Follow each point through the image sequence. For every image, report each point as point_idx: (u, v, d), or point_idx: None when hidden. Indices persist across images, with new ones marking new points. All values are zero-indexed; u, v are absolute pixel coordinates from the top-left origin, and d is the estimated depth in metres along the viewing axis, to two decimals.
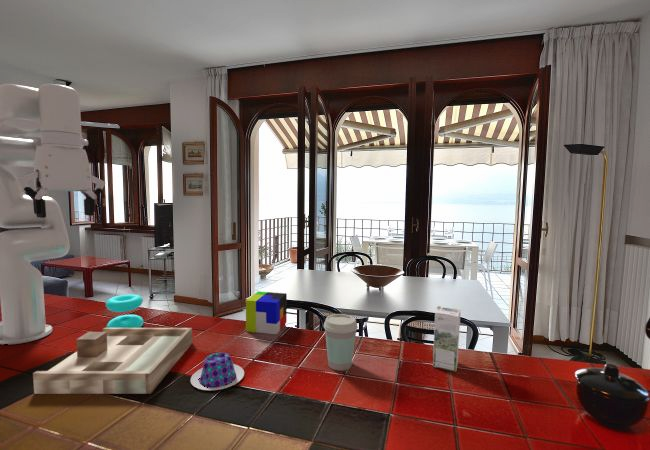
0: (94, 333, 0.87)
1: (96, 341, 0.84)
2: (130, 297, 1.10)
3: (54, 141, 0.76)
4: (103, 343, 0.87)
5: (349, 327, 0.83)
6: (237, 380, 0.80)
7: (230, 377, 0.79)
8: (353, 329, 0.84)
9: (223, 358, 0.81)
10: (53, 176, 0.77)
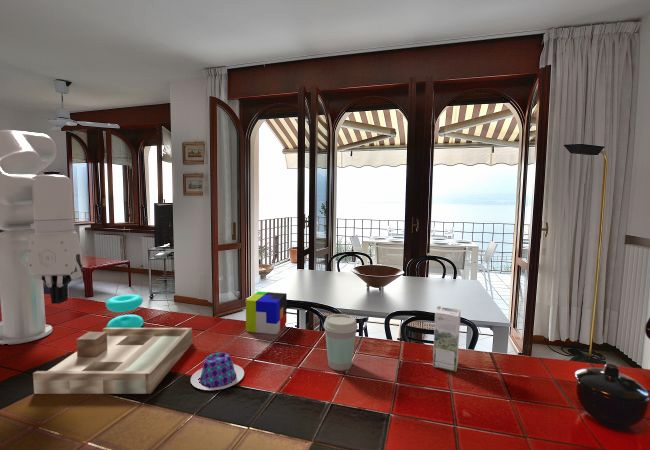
0: (94, 333, 0.87)
1: (96, 341, 0.84)
2: (130, 297, 1.10)
3: None
4: (103, 343, 0.87)
5: (349, 327, 0.83)
6: (237, 380, 0.79)
7: (230, 377, 0.79)
8: (353, 329, 0.84)
9: (223, 358, 0.81)
10: None
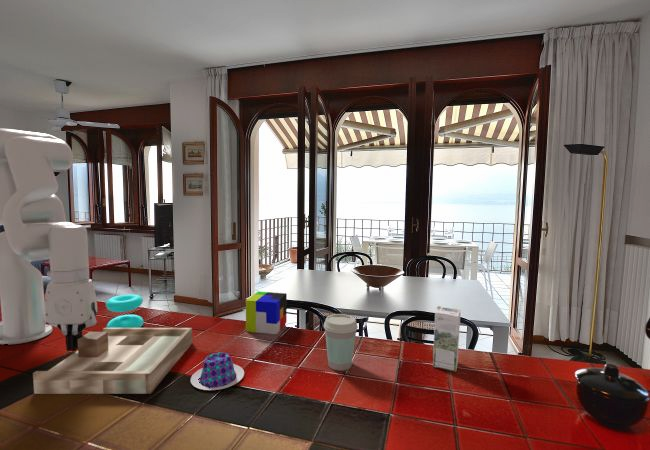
0: (95, 333, 0.87)
1: (98, 341, 0.84)
2: (130, 297, 1.10)
3: None
4: (104, 343, 0.87)
5: (349, 327, 0.83)
6: (236, 381, 0.79)
7: (229, 378, 0.79)
8: (353, 329, 0.84)
9: (223, 358, 0.81)
10: None
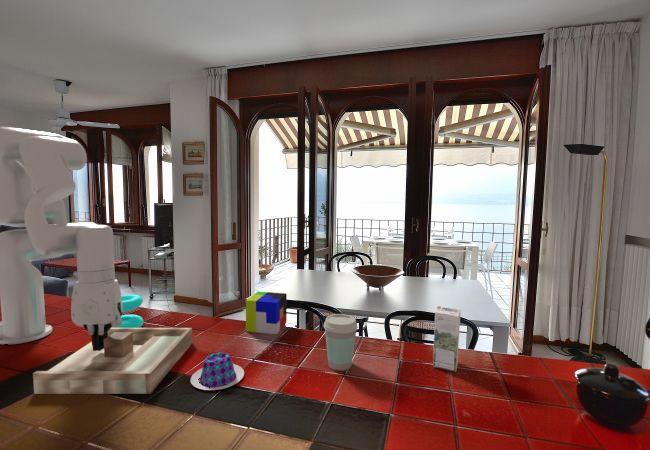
0: (120, 333, 0.87)
1: (123, 341, 0.84)
2: (130, 297, 1.10)
3: None
4: (129, 343, 0.87)
5: (349, 327, 0.83)
6: (235, 381, 0.79)
7: (228, 378, 0.79)
8: (353, 329, 0.84)
9: (223, 358, 0.81)
10: None
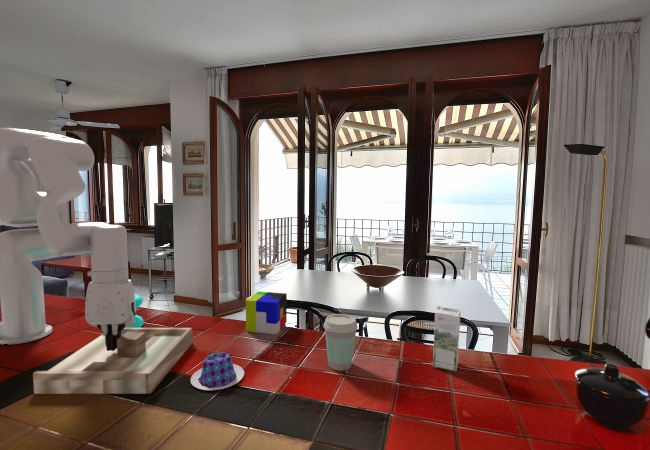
0: (133, 333, 0.87)
1: (136, 341, 0.84)
2: None
3: None
4: (142, 344, 0.87)
5: (349, 327, 0.83)
6: (235, 382, 0.79)
7: (228, 378, 0.79)
8: (353, 329, 0.84)
9: (223, 358, 0.81)
10: None
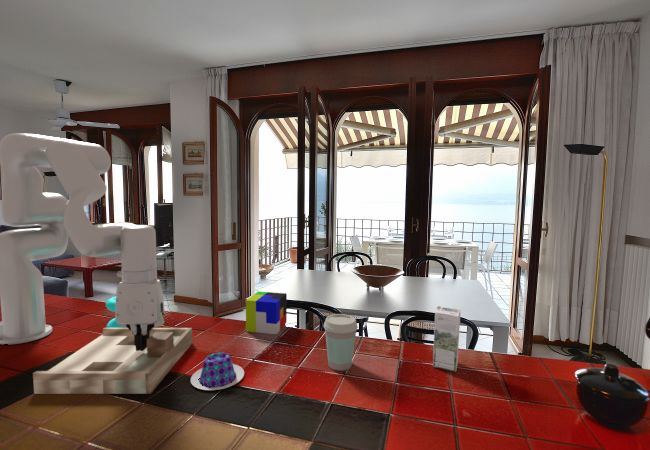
0: (161, 333, 0.87)
1: (166, 341, 0.84)
2: None
3: None
4: (171, 344, 0.87)
5: (349, 327, 0.83)
6: (234, 382, 0.79)
7: (227, 379, 0.79)
8: (353, 329, 0.84)
9: (223, 358, 0.81)
10: None
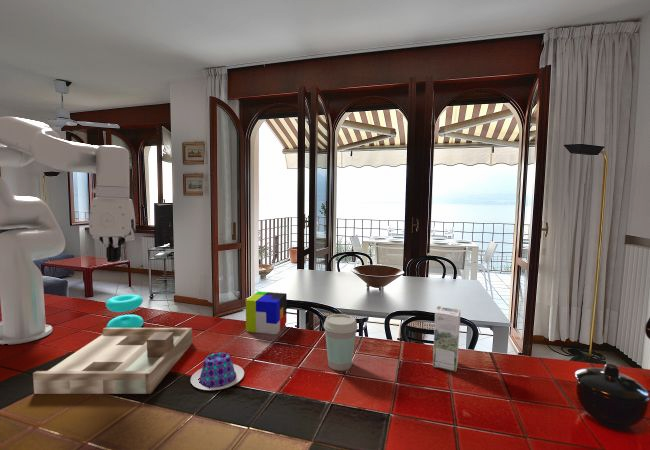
0: (161, 333, 0.87)
1: (166, 341, 0.84)
2: (130, 297, 1.10)
3: None
4: (171, 344, 0.87)
5: (349, 327, 0.83)
6: (233, 383, 0.78)
7: (226, 379, 0.78)
8: (353, 329, 0.84)
9: (223, 359, 0.81)
10: None
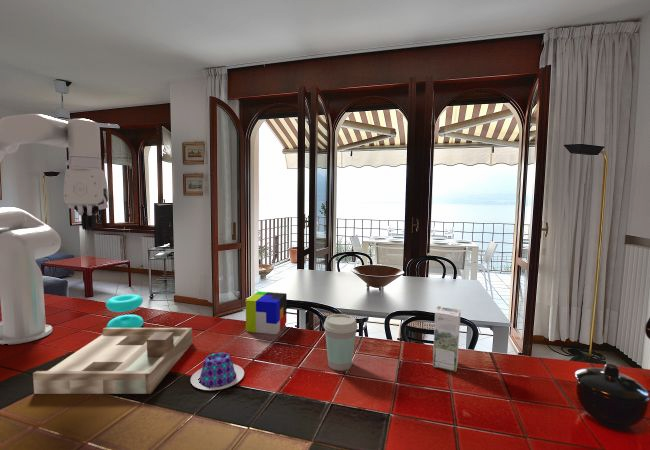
0: (161, 333, 0.87)
1: (166, 341, 0.84)
2: (130, 297, 1.10)
3: None
4: (171, 344, 0.87)
5: (349, 327, 0.83)
6: (231, 384, 0.78)
7: (225, 379, 0.78)
8: (353, 329, 0.84)
9: (223, 359, 0.81)
10: None
